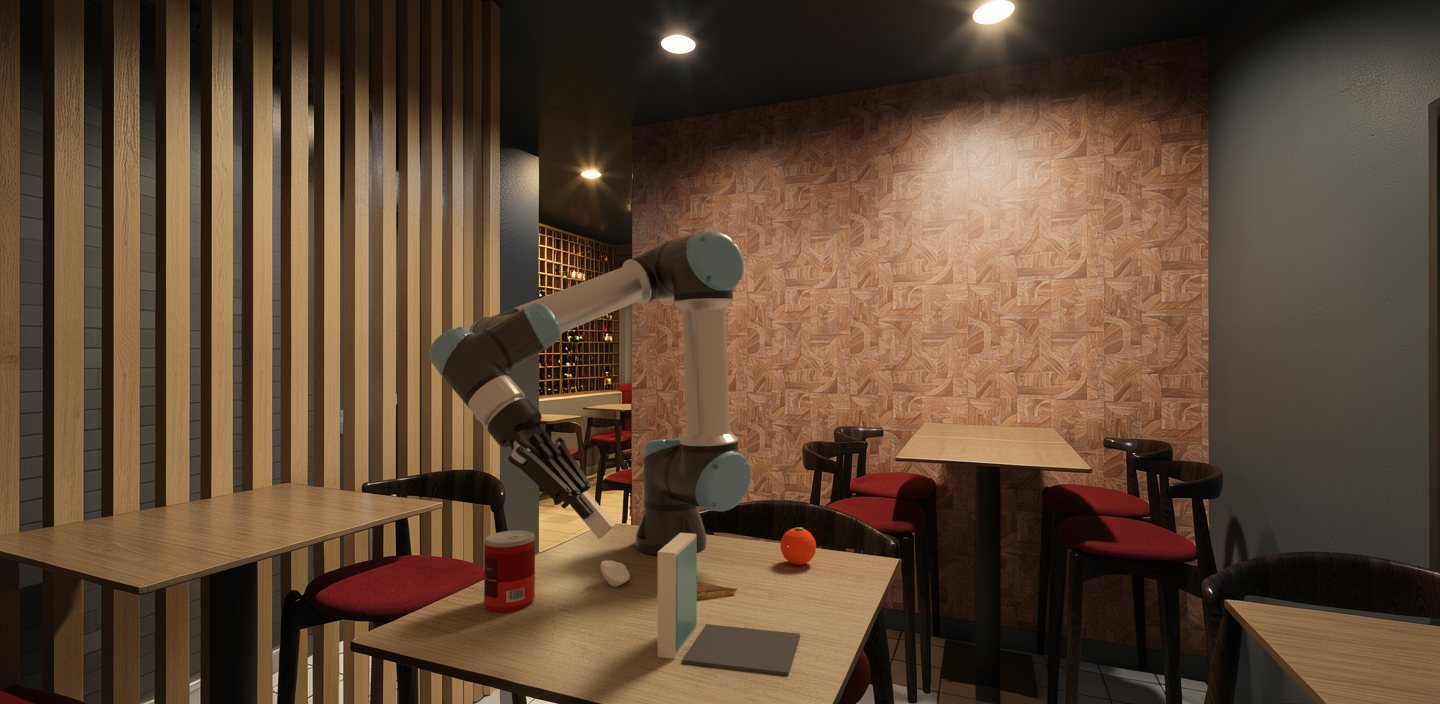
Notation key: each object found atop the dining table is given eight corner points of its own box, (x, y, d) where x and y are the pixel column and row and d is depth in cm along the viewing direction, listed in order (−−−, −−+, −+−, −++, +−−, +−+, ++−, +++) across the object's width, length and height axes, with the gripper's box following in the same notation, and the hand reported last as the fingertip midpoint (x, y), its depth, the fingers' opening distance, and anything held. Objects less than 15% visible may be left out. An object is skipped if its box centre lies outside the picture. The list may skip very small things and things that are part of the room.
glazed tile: (680, 627, 97) (680, 532, 97) (697, 629, 96) (697, 533, 96) (657, 656, 87) (657, 551, 87) (676, 659, 86) (676, 553, 87)
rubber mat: (706, 626, 97) (706, 624, 97) (800, 636, 93) (800, 633, 93) (682, 663, 85) (682, 659, 85) (788, 675, 82) (788, 672, 82)
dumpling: (598, 580, 118) (598, 557, 118) (627, 577, 119) (627, 555, 119) (603, 593, 111) (603, 569, 111) (633, 589, 113) (633, 566, 113)
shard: (737, 597, 110) (737, 586, 110) (716, 612, 104) (716, 601, 104) (682, 586, 115) (682, 576, 115) (659, 600, 109) (659, 589, 109)
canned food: (543, 597, 109) (543, 531, 109) (516, 615, 101) (516, 544, 101) (503, 593, 111) (504, 528, 111) (473, 610, 103) (474, 541, 103)
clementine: (785, 555, 132) (785, 520, 132) (819, 559, 130) (819, 523, 130) (776, 567, 125) (776, 530, 125) (812, 571, 123) (812, 533, 123)
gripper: (514, 426, 105) (608, 537, 101) (464, 434, 93) (568, 561, 88) (544, 394, 104) (641, 505, 100) (497, 397, 91) (605, 525, 87)
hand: (607, 531), depth 94 cm, fingers closed
